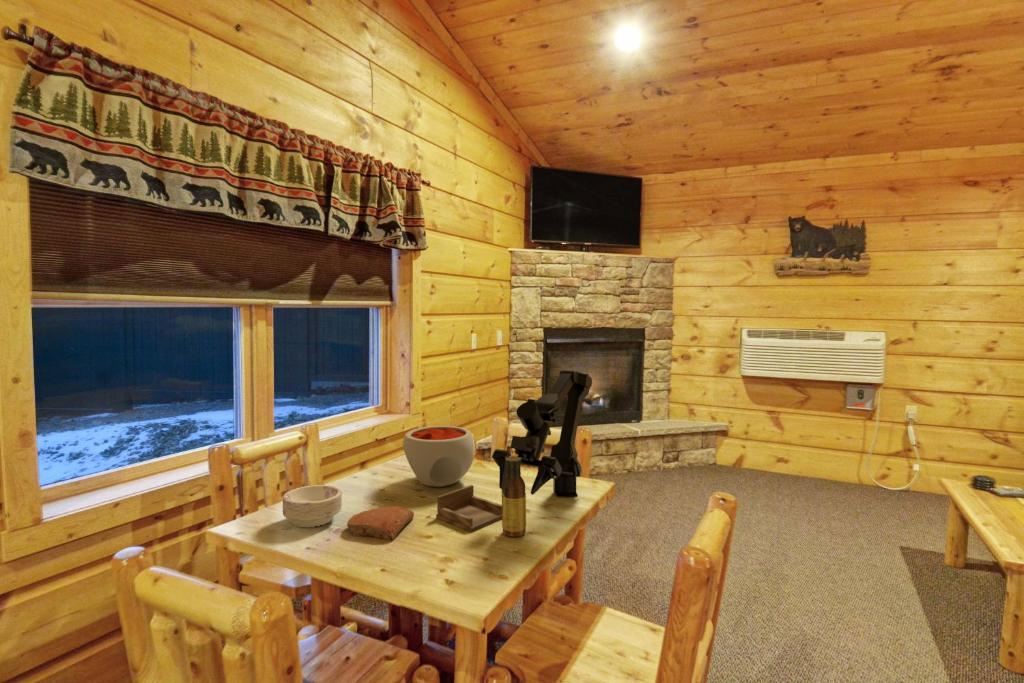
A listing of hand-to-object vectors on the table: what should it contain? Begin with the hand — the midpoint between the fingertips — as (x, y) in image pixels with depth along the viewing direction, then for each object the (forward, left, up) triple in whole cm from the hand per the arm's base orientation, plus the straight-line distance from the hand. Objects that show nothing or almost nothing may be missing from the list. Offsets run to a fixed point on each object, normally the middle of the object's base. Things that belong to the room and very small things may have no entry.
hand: (515, 491), depth 140 cm
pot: (+22, -41, -11) cm, 48 cm away
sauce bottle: (+1, +1, -11) cm, 11 cm away
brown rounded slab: (+36, -6, -11) cm, 38 cm away
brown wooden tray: (+12, -11, -11) cm, 19 cm away
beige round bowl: (+55, -12, -11) cm, 57 cm away
